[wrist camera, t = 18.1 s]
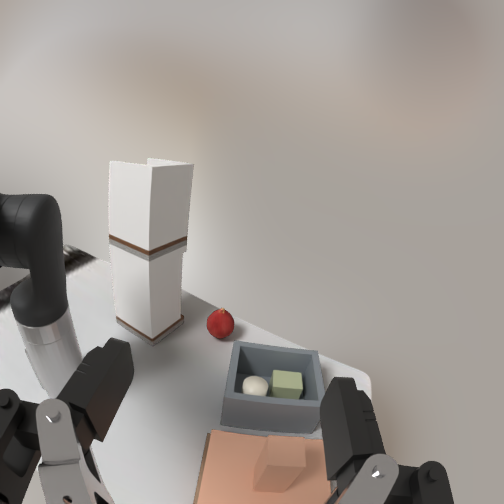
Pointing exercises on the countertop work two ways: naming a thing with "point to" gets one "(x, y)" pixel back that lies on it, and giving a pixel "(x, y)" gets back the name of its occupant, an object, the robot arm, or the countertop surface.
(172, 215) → the white tall block
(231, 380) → the storage box
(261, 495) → the lid
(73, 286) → the countertop surface
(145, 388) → the countertop surface
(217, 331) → the pomegranate
